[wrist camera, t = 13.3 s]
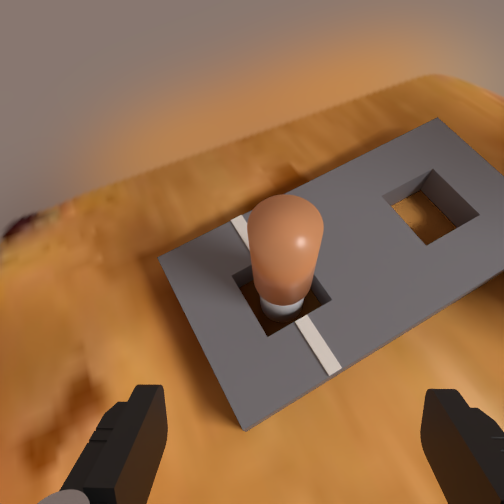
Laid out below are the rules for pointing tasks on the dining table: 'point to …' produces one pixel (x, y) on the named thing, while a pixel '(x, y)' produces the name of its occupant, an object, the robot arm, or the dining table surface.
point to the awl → (284, 253)
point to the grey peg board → (346, 269)
